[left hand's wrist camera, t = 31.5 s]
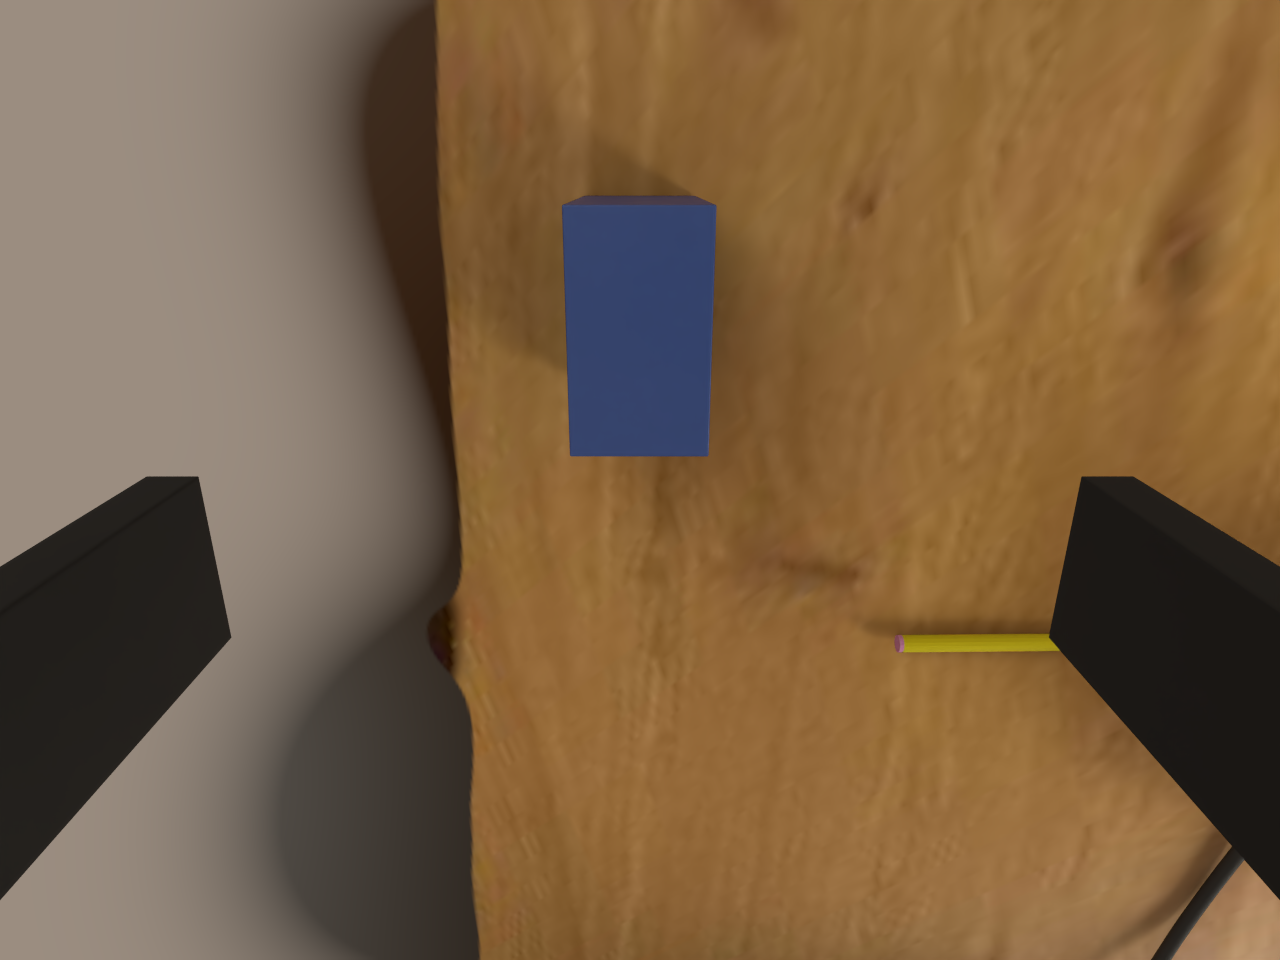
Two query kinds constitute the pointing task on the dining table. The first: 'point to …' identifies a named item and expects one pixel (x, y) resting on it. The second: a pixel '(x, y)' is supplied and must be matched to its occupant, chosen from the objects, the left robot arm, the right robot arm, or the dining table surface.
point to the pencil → (974, 643)
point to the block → (639, 324)
